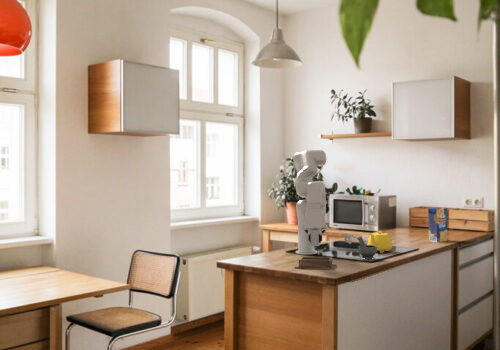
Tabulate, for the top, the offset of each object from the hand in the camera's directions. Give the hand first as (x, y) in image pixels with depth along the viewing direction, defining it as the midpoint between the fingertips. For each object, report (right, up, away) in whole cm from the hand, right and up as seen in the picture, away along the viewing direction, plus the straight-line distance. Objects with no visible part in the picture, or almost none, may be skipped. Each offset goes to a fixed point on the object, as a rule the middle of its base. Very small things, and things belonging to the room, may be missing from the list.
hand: (315, 242), depth 263 cm
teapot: (+43, -12, +44) cm, 63 cm away
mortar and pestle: (+31, -12, +21) cm, 39 cm away
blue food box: (+93, -10, +85) cm, 127 cm away
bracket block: (0, -1, 0) cm, 1 cm away
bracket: (+39, -12, +76) cm, 86 cm away
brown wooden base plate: (0, -12, 0) cm, 12 cm away
